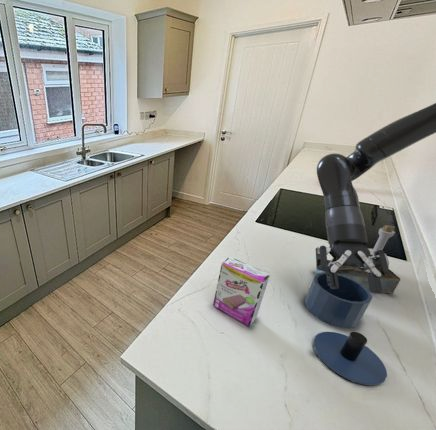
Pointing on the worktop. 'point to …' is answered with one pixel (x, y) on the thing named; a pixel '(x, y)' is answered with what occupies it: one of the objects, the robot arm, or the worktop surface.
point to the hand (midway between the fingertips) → (355, 291)
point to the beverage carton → (360, 276)
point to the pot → (338, 301)
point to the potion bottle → (383, 240)
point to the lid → (350, 357)
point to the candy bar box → (240, 290)
